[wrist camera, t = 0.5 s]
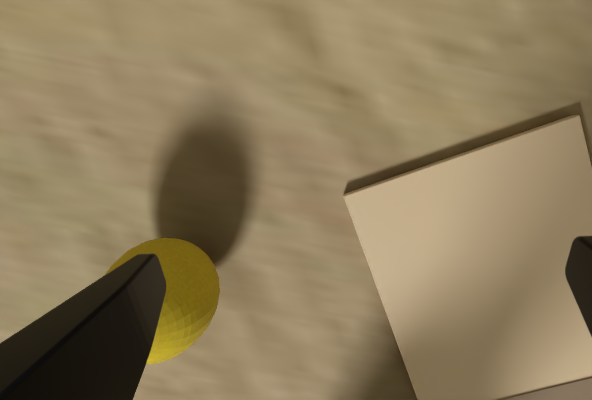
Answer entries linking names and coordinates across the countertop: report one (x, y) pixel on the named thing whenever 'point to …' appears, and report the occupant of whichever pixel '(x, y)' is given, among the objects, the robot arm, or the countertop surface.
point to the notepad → (485, 267)
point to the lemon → (180, 294)
